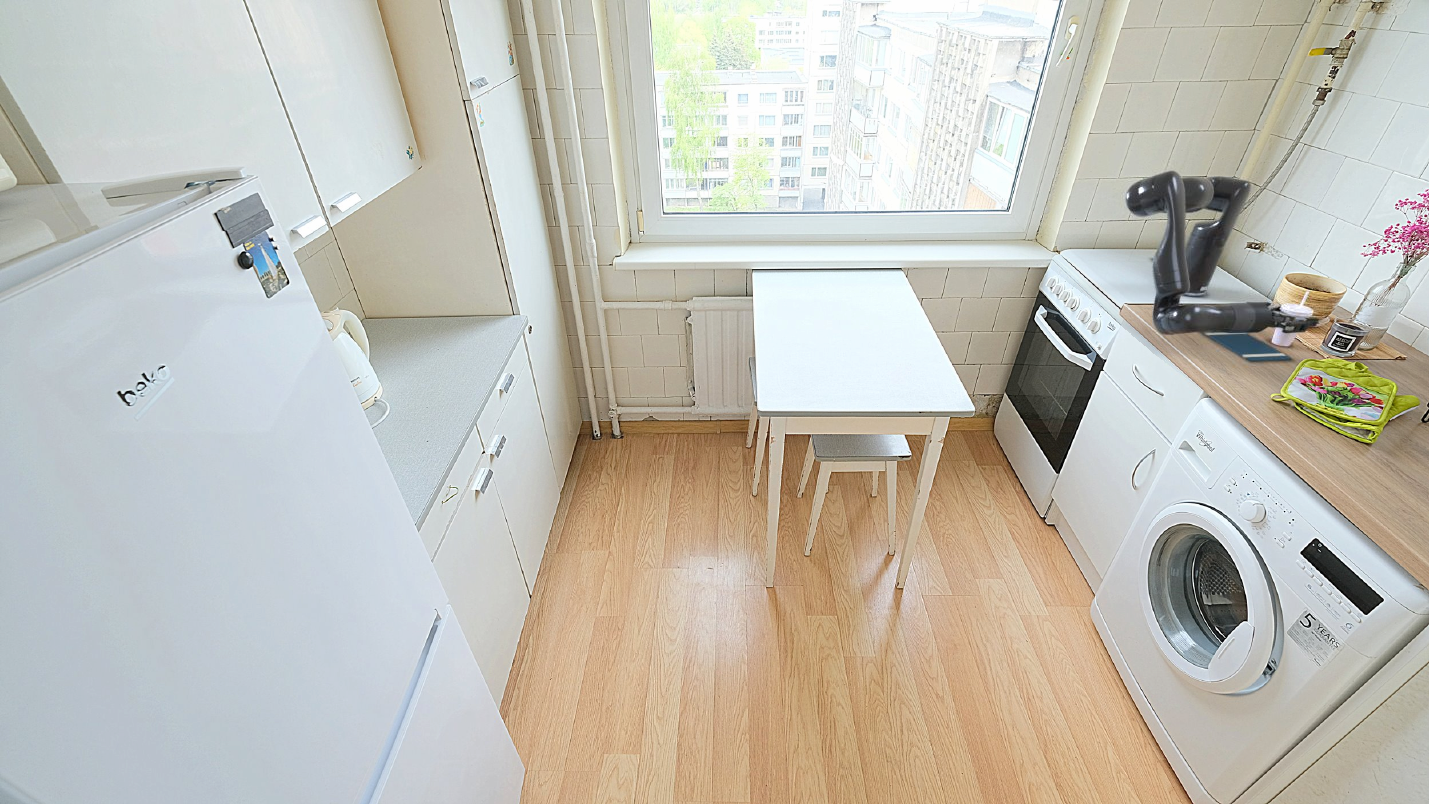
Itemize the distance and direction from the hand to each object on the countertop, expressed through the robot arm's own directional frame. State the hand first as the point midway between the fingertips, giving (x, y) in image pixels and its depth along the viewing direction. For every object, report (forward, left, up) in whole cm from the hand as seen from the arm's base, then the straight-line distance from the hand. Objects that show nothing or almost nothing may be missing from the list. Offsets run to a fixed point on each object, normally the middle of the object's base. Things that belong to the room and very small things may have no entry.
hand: (1303, 316), depth 159 cm
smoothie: (0, -2, -8) cm, 8 cm away
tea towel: (0, -12, -8) cm, 15 cm away
